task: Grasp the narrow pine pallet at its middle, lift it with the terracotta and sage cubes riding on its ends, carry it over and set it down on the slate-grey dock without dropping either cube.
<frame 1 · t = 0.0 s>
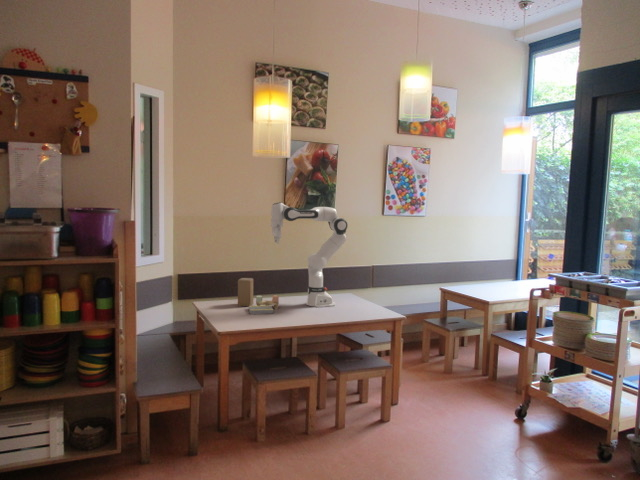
hand: (276, 242, 366), 48 cm above the table, fingers open, 8 cm apart
cargo b: (259, 301, 360), point 5 cm above the table, touching pallet
pallet: (267, 308, 362), on the table, touching cargo a, cargo b
dock: (260, 311, 350), on the table
wooden block: (245, 305, 371), on the table
cargo a: (275, 301, 363), point 5 cm above the table, touching pallet
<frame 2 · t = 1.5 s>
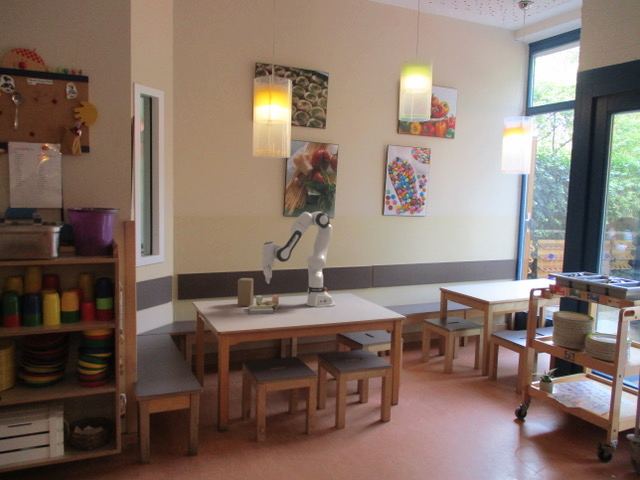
hand: (267, 282, 361), 19 cm above the table, fingers open, 8 cm apart
nothing on the table moved.
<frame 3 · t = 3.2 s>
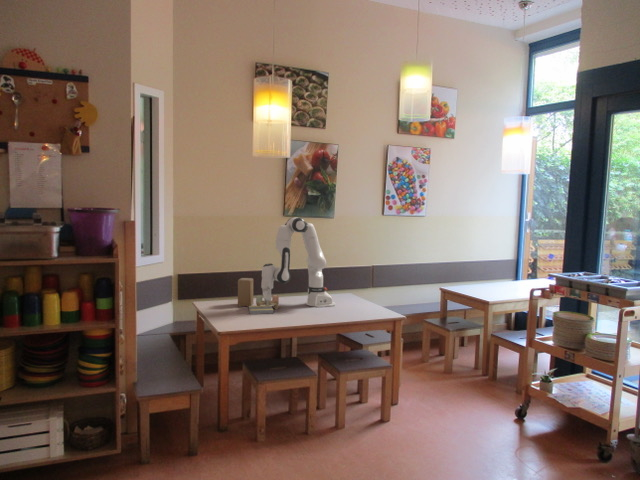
hand: (266, 304, 362), 3 cm above the table, fingers open, 7 cm apart
nothing on the table moved.
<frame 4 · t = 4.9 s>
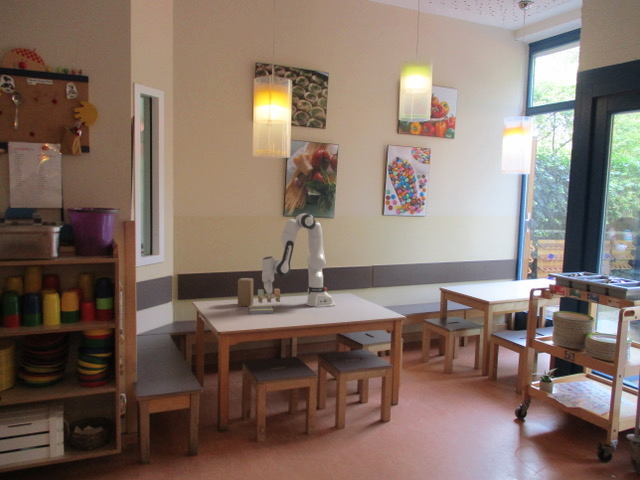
hand: (268, 297, 362), 8 cm above the table, fingers closed on pallet, 5 cm apart
cargo b: (260, 295, 360), point 10 cm above the table, touching pallet
pallet: (269, 301, 362), point 5 cm above the table, touching cargo a, cargo b, gripper
cargo a: (276, 294, 363), point 10 cm above the table, touching pallet
everything else where it was.
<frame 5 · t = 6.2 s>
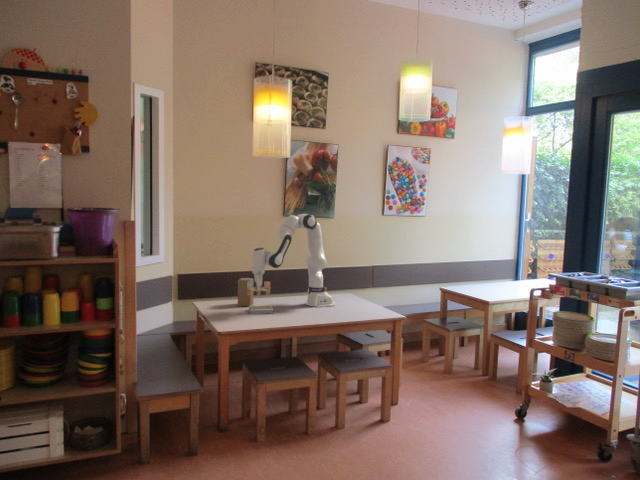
hand: (258, 289, 349), 16 cm above the table, fingers closed on pallet, 5 cm apart
cargo b: (250, 287, 348), point 18 cm above the table, touching pallet
pallet: (258, 294, 349), point 12 cm above the table, touching cargo a, cargo b, gripper
cargo a: (267, 287, 351), point 17 cm above the table, touching pallet
everything else where it was.
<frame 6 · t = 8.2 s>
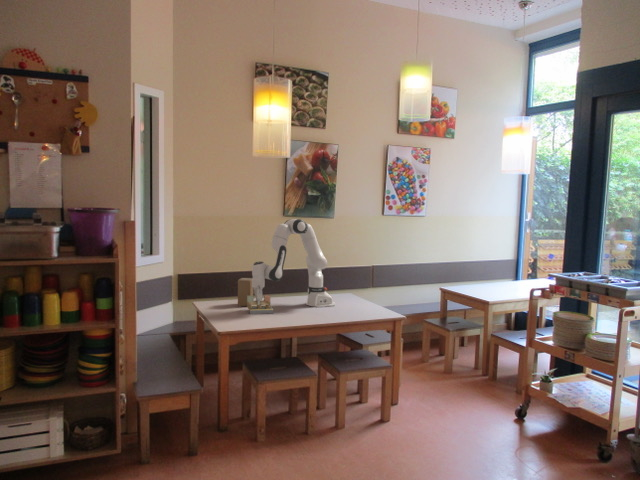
hand: (258, 303, 349), 6 cm above the table, fingers closed on pallet, 5 cm apart
cargo b: (250, 301, 348), point 8 cm above the table, touching pallet
pallet: (258, 308, 350), point 3 cm above the table, touching cargo a, cargo b, dock, gripper
cargo a: (267, 301, 351), point 8 cm above the table, touching pallet
everything else where it was.
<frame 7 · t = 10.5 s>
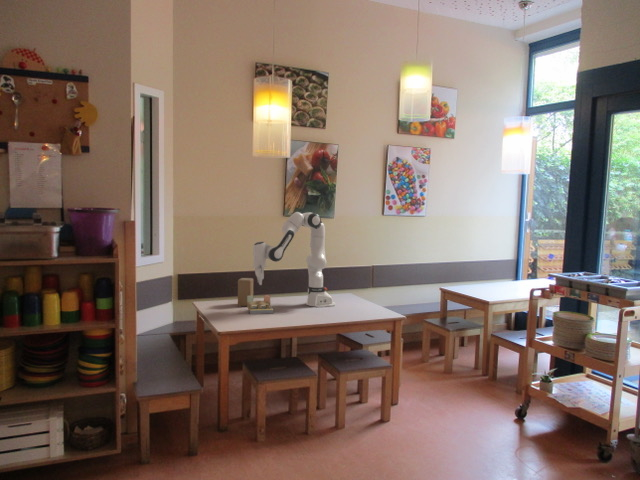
hand: (259, 283, 351), 20 cm above the table, fingers open, 8 cm apart
pallet: (258, 308, 350), point 2 cm above the table, touching cargo a, cargo b, dock
everything else where it was.
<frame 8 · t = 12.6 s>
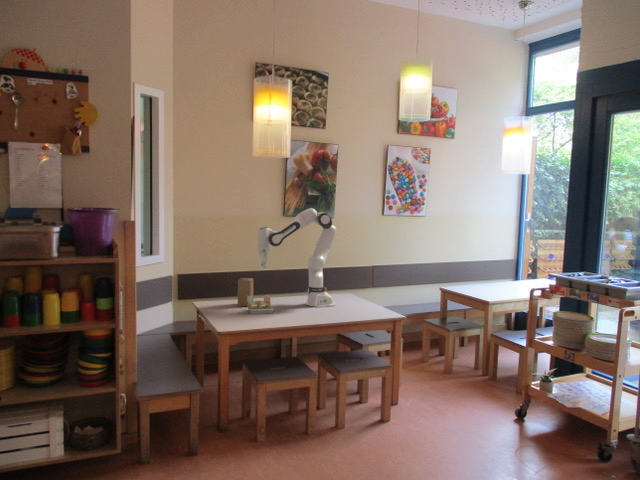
hand: (263, 266, 370), 29 cm above the table, fingers open, 8 cm apart
nothing on the table moved.
at the end: pallet inside the target area on the dock (1.5 cm from its centre), point 2.5 cm above the dock's base; cargo a 0.3 cm from the target spot on the pallet, point 5.0 cm above the pallet's base; cargo b 0.1 cm from the target spot on the pallet, point 5.0 cm above the pallet's base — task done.
